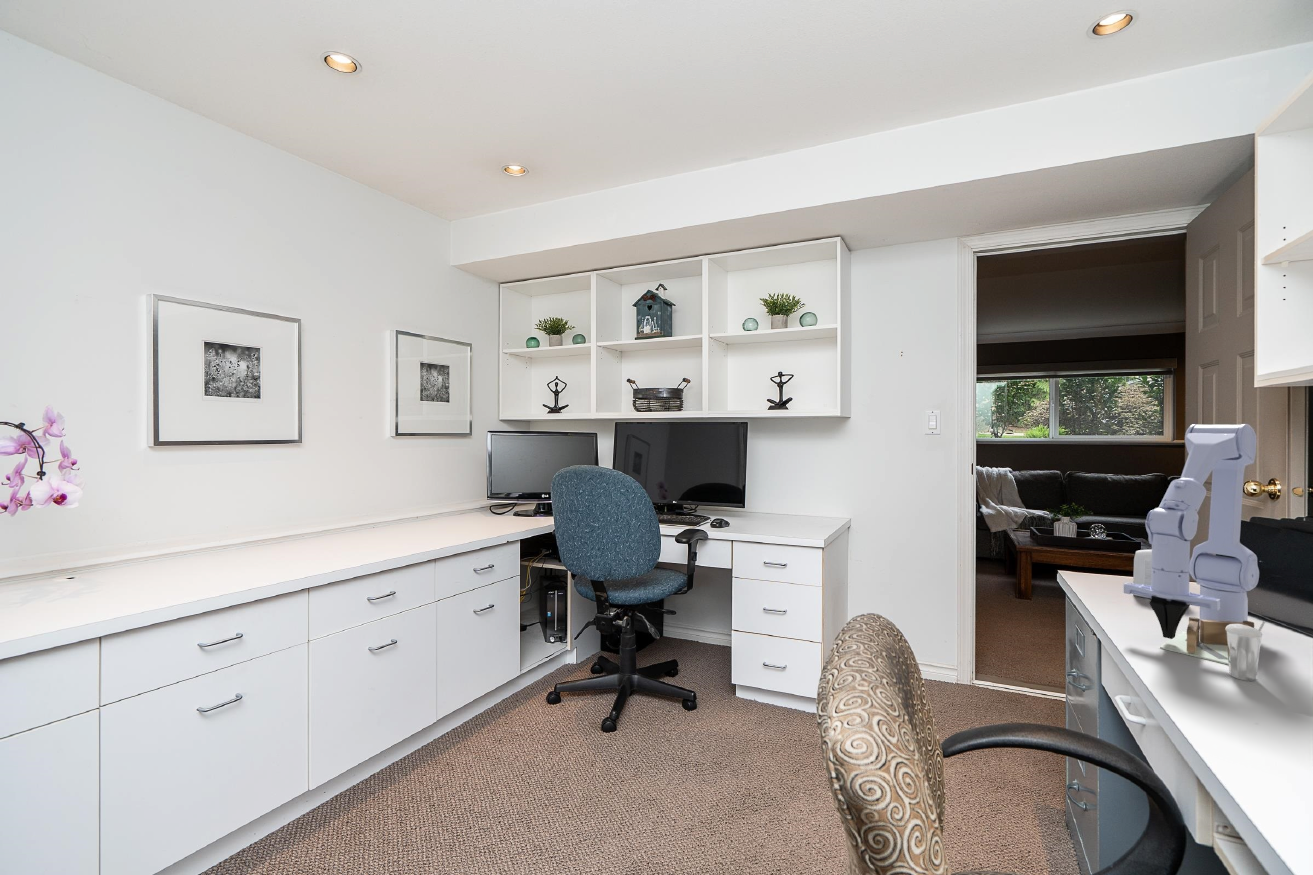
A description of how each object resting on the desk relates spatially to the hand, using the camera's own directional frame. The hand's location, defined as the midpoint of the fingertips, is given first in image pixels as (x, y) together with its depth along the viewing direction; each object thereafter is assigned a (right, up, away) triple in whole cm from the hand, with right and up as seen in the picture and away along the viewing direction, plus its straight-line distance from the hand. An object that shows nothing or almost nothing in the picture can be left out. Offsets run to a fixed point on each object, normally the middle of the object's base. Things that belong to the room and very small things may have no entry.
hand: (1168, 637), depth 118 cm
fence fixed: (+10, -2, 0) cm, 10 cm away
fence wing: (+2, -1, -3) cm, 4 cm away
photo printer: (+24, -1, +31) cm, 39 cm away
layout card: (+6, -2, -2) cm, 7 cm away
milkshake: (0, -2, -15) cm, 15 cm away
